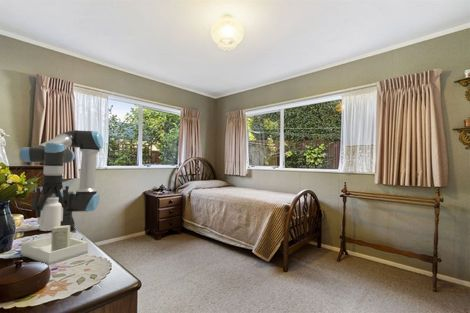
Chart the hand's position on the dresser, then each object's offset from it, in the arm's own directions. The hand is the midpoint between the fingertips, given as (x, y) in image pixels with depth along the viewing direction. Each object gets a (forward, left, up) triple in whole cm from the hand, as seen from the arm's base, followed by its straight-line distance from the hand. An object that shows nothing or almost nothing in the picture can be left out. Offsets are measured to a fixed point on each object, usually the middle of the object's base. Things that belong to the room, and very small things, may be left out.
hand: (50, 222), depth 112 cm
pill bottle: (0, 0, -3) cm, 3 cm away
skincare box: (0, +10, -13) cm, 16 cm away
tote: (0, +5, -14) cm, 15 cm away
